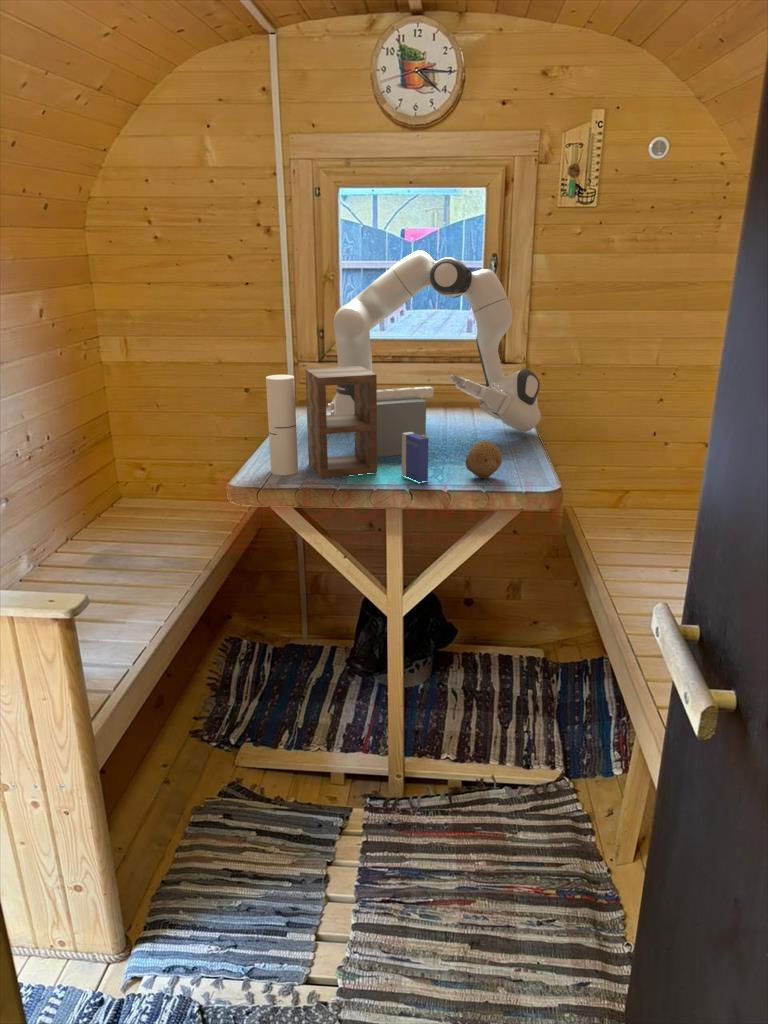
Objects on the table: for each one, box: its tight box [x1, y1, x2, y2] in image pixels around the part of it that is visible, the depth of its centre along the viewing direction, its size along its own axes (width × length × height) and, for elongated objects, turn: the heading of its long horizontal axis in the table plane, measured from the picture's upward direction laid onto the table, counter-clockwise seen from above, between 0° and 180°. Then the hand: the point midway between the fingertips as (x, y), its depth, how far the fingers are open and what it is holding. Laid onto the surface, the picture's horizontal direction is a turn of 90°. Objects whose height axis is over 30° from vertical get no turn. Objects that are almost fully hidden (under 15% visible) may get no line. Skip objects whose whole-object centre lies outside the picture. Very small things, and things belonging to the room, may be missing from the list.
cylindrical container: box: [265, 374, 299, 476], centre depth 197 cm, size 7×7×25 cm
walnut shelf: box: [304, 366, 378, 480], centre depth 199 cm, size 14×15×26 cm
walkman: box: [401, 432, 430, 482], centre depth 193 cm, size 8×3×12 cm, turn 33°
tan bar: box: [377, 385, 435, 401], centre depth 217 cm, size 3×20×3 cm, turn 109°
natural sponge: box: [464, 440, 503, 480], centre depth 193 cm, size 9×9×10 cm
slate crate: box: [377, 398, 427, 458], centre depth 219 cm, size 12×16×15 cm
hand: (457, 379), depth 221 cm, fingers open, 8 cm apart
